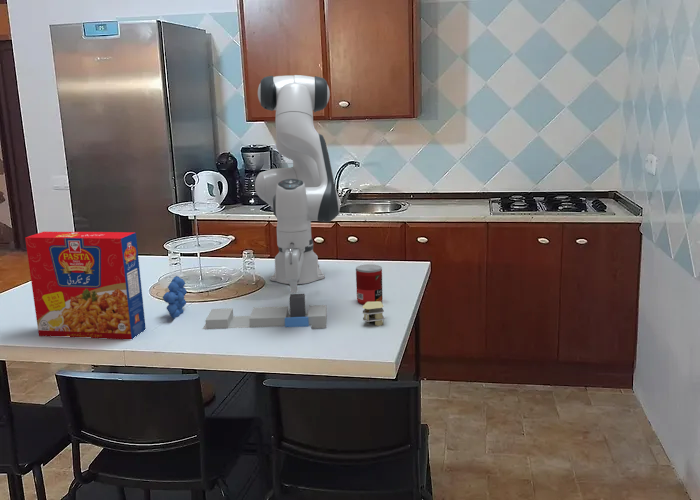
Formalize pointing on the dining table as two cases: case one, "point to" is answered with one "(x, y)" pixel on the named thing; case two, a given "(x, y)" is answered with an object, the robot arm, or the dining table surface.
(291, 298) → the dark grey rectangular box
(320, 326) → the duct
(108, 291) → the pasta box
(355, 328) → the dining table surface
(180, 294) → the grapes
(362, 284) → the canned food
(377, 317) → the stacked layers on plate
